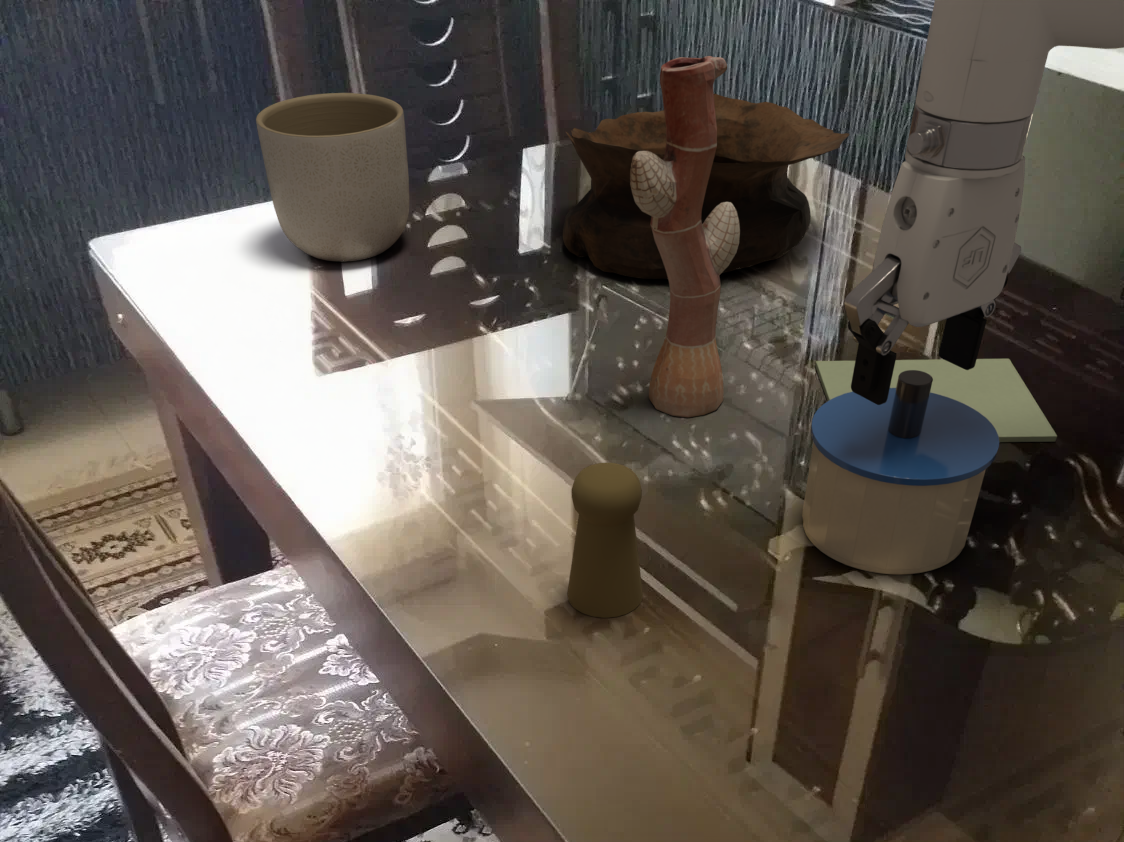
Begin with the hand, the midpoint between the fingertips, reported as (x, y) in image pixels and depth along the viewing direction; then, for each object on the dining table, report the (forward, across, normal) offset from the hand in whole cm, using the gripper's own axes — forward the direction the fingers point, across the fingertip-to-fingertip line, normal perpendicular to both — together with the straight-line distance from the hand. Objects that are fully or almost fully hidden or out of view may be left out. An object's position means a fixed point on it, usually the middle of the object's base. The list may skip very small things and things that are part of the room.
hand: (912, 379), depth 88 cm
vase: (+14, 0, +28) cm, 31 cm away
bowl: (+14, +29, +60) cm, 67 cm away
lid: (+5, 0, 0) cm, 5 cm away
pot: (+14, 0, 0) cm, 14 cm away
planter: (+14, -7, +83) cm, 85 cm away
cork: (+14, -24, +6) cm, 29 cm away
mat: (+13, +20, +13) cm, 28 cm away
